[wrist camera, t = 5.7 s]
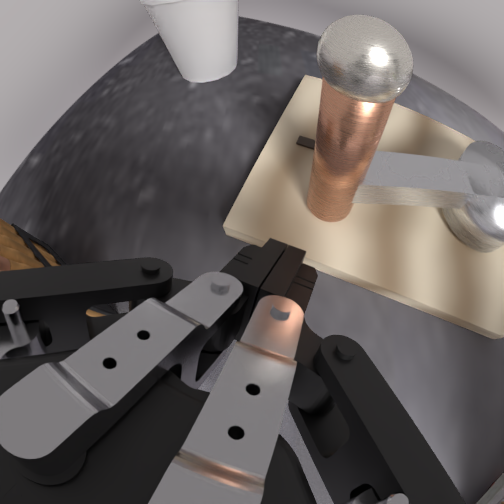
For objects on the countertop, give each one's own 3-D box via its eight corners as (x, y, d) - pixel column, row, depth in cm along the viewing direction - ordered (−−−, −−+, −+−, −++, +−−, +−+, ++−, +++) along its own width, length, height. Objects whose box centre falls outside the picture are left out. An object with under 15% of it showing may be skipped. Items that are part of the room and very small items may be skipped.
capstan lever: (492, 175, 19) (568, 75, 7) (514, 252, 16) (623, 170, 4) (299, 158, 20) (307, -16, 8) (304, 252, 18) (338, 69, 6)
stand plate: (502, 170, 21) (510, 161, 19) (493, 339, 16) (506, 336, 15) (304, 86, 26) (305, 73, 24) (226, 234, 21) (222, 224, 19)
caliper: (530, 387, 14) (579, 385, 8) (535, 392, 14) (583, 390, 8) (384, 578, 10) (405, 616, 4) (392, 579, 10) (413, 616, 4)
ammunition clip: (120, 316, 20) (-10, 265, 8) (107, 336, 19) (-27, 301, 8) (47, 244, 22) (-48, 179, 11) (37, 261, 22) (-61, 202, 11)
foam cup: (180, 49, 30) (154, -36, 18) (254, 43, 29) (243, -50, 17) (157, 96, 27) (115, -6, 15) (245, 89, 26) (228, -30, 14)
